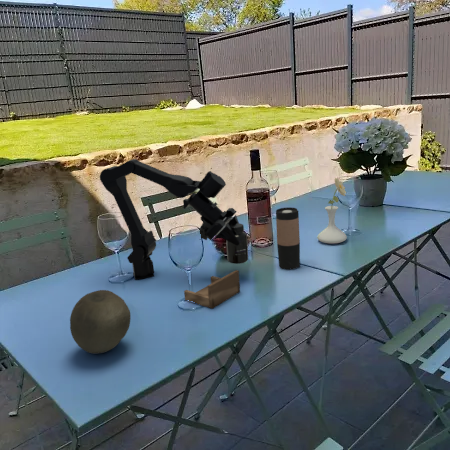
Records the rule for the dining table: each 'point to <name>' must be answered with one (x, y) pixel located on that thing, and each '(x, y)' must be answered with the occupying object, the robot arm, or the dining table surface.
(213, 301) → the holder
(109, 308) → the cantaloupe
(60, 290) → the dining table surface
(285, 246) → the travel mug
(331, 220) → the flower in vase
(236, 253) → the supplement bottle
